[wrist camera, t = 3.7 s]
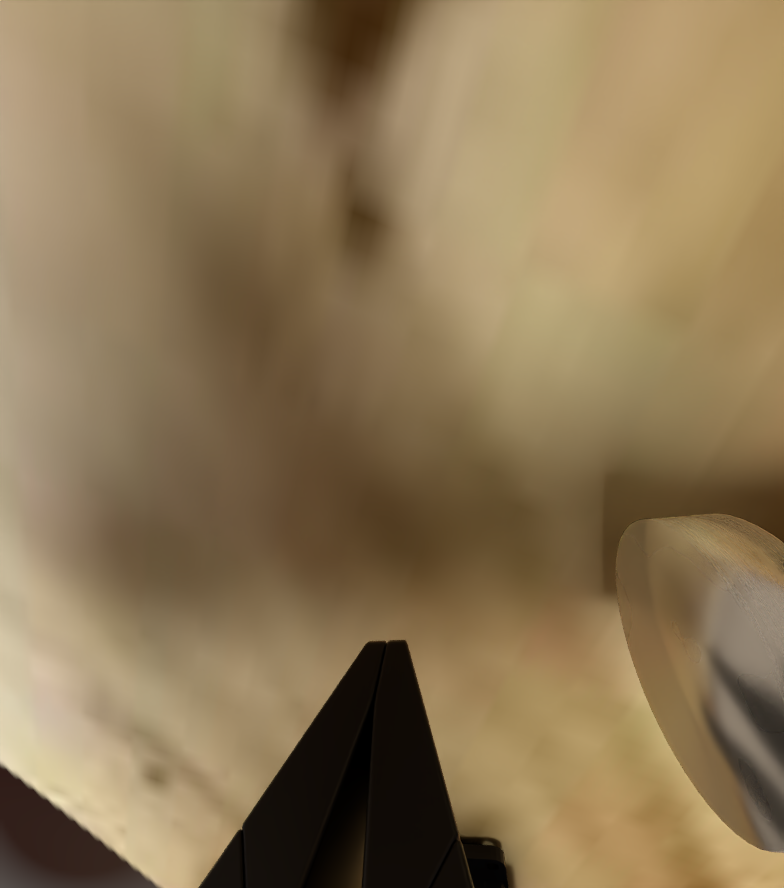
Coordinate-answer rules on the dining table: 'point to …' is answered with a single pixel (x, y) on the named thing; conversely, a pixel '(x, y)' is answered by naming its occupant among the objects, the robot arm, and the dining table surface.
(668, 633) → the pin
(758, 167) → the dining table surface
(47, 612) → the dining table surface
